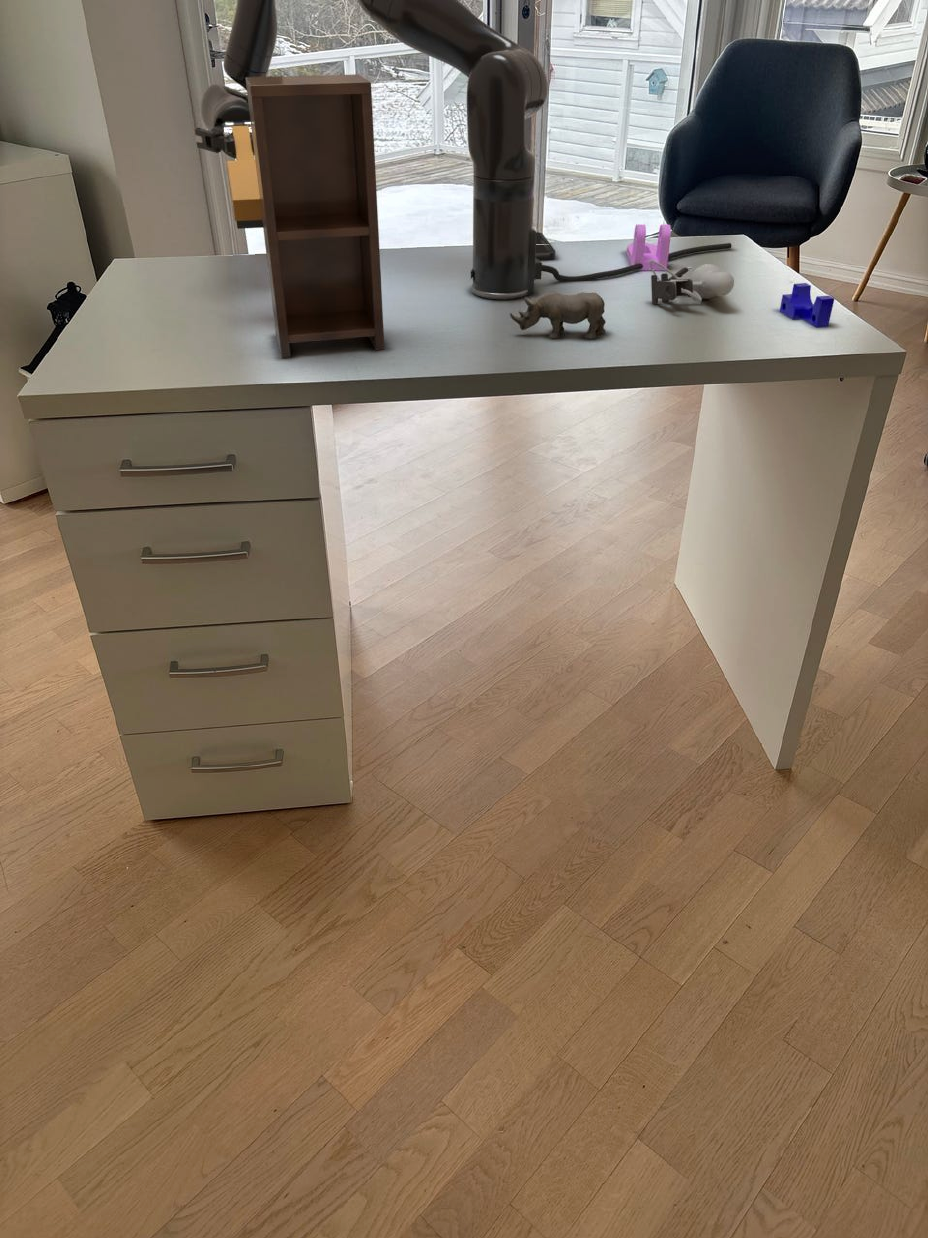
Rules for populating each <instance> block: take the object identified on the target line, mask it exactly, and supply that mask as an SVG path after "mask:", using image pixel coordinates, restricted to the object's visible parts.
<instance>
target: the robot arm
mask: <svg viewBox="0 0 928 1238" xmlns="http://www.w3.org/2000/svg"><path fill="white" fill-rule="evenodd" d="M356 1H357V3H358V4H359V6H360V7H361V9H362V10H363V12H364V13H365V14H366V15H367V16H368V17H369V18H370V19H371V20H372V21H373V22H375V23H376V24H377V25H378V26H379V27H380V28H382V29H383V30H385V31H386V32H387V33H388V34H389V35H390V36H392V37H393V38H395V39H396V40H398V41H399V42H401V43H402V44H404V45H405V46H407V47H409V48H411V49H413V50H415V51H417V52H419V53H422V54H424V55H426V56H428V57H431V58H433V59H435V60H438V61H440V62H442V63H445V64H447V65H448V66H451V67H453V68H454V69H455V70H457V71H459V72H460V73H462V74H463V75H464V76H465V77H467V84H466V126H467V130H466V131H467V146H468V147H467V148H468V153H469V156H470V159H471V162H472V168H473V169H472V170H473V171H472V173H473V175H472V179H473V180H472V181H473V183H472V269H471V270H470V280H472V284H471V292H472V293H473V294H474V295H475V296H478V297H480V298H481V297H482V298H486V299H491V300H493V299H494V300H514V299H519V298H523V297H527V296H529V295H534V294H535V280H542V275H543V272H544V273H549V274H552V275H553V278H554V280H556V281H557V282H563V283H572V282H573V283H574V282H589V281H592V280H599V279H604V278H611V277H615V276H616V277H617V276H621V275H624V274H629V273H631V272H635V271H639V270H638V269H641V268H643V265H642V264H640V263H639V264H635V265H631V264H630V265H629V266H625V267H621V268H616V269H613V270H606V271H600V272H595V273H589V274H584V275H575V276H573V275H570V276H568V275H563V274H560V273H559V271H558V269H557V268H555V267H553V266H551V265H546V264H543V262H541V260H538V259H537V258H536V257H535V256H536V232H537V231H536V229H534V228H533V224H534V223H533V222H534V202H535V201H534V200H535V176H536V158H535V155H534V153H533V152H531V151H530V150H529V149H528V147H527V145H526V135H525V134H526V133H525V132H526V131H525V130H526V129H525V128H526V125H525V123H526V122H525V120H527V119H529V118H531V117H533V116H534V115H536V114H537V113H538V112H540V110H541V109H542V108H543V106H544V105H545V103H546V100H547V99H548V98H547V97H548V93H549V92H548V91H549V82H548V78H547V77H548V76H547V74H546V71H545V69H544V67H543V65H542V63H541V61H540V60H539V59H538V58H537V56H535V55H534V54H533V53H532V52H530V51H529V50H528V49H526V48H524V46H521V45H519V44H518V43H516V42H515V41H513V40H512V39H510V38H508V37H507V36H505V35H504V34H502V33H500V32H499V31H497V30H496V29H494V28H493V27H491V26H490V25H488V24H487V23H485V22H484V21H482V19H481V18H479V17H477V16H476V15H475V14H474V13H473V12H472V11H471V10H470V9H468V7H466V5H464V4H463V3H462V2H460V1H459V0H356ZM277 14H278V13H277V7H276V0H237V1H236V7H235V12H234V16H233V21H232V24H231V25H232V26H231V30H230V33H229V37H228V41H227V45H226V50H225V52H224V53H225V54H224V58H223V69H224V72H225V74H226V75H227V76H228V77H229V78H230V79H231V80H233V81H234V82H235V83H237V84H238V85H239V86H241V87H242V89H244V90H245V91H246V92H247V86H246V77H268V73H269V69H270V66H271V62H272V58H273V55H274V52H275V49H276V44H277V38H278V15H277ZM200 115H201V116H200V117H201V119H202V122H203V124H204V125H205V126H206V128H201V127H196V128H194V136H195V142H196V147H197V148H198V149H202V150H204V151H208V152H212V153H215V154H219V153H221V152H223V153H224V154H225V155H227V156H228V157H230V158H232V159H235V160H236V148H235V140H234V136H233V133H232V126H249V131H250V140H251V146H252V152H253V155H254V156H255V154H254V145H253V137H252V129H251V120H250V112H249V103H248V95H247V93H243V92H242V91H239V90H236V89H234V88H231V87H230V86H227V85H224V84H221V83H213V84H210V85H209V86H208V87H207V88H206V89H205V91H204V92H203V95H202V97H201V100H200ZM731 248H732V243H731V242H726V243H717V244H716V243H715V244H709V245H701V246H693V247H689V248H684V249H680V250H676V251H673V252H669V254H668V260H671V259H675V258H678V257H681V256H685V255H691V254H697V253H702V252H710V251H719V250H720V251H721V250H729V249H731Z"/></svg>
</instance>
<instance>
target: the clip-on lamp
mask: <svg viewBox="0 0 928 1238" xmlns="http://www.w3.org/2000/svg"><path fill="white" fill-rule="evenodd" d="M652 263H655V264H657V265H658V266H660V267H661V268H663V269H664V270H663V271H665V272H666V273H665V272H663V273H661V274H660V278H659V277H658V275H657V273H656V270H654V269H653V267H652ZM650 266H651V269H652V270H651V271H652V275H651V276H650V283H651V288H650V289H651V303H652V304H653V305H658V304H659V300H661V302H662V303H668V302H669V301H674V300H676V299H680V298H681V299H682V298H692V299H694V300H695V301H696V302H697V303H701V302H702V301H703V299H712V298H714V297H715V296H722V297H723V296H727V295H728V294H730V293H731V292H732V290H733V288H734V286H735V279H734V276H733V275H732V274H731V273H730V272H727V271H722V269H720V268H719V267H718V266H717V265H715V264H712V263H705V264H701V265H700V266H698V267H697V268H695V270H693V272H692V273H691V276H690V278H683V276H684V275H685V274H687V273H688V272H689V270H691V269H692V266H687V267H682V268H681V269H680V270H678V271H677V272H676V273H674V272H672V271H671V270H670V269H669V268H668V267H667V268H666V267H664V266H663V265H661V264H660V263H658V262H656V261H653V260H651V261H650ZM669 275H671V276H670V277H669Z"/></svg>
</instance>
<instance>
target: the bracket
mask: <svg viewBox="0 0 928 1238" xmlns="http://www.w3.org/2000/svg"><path fill="white" fill-rule="evenodd" d="M646 236H647V226H646V224H636V225H635V227H634V233H633V242H632V243H629V244H627V246H626V256H627V257H626V258H627V259H628V261H629V263H630V266H631V265H635V264H639V263H640V264H642V265H643V268H641V269H638V270H637V271H652V269H651V266H650V261H651V260H653V261H656V262H658V263H660V264H661V265H663V266H664V267H666V268H667V269H668V262H669V259H668V254H669V253H670V246H671V237H672V227H671V225H670V224H660V226H659V228H658V236H657V244H655V243H649V242H646V238H647V237H646ZM652 267H653V269H654V271H665V270H664V269H663V268H661V267H660V266H658V265H657V264H655V263H652Z"/></svg>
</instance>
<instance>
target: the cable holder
mask: <svg viewBox="0 0 928 1238" xmlns="http://www.w3.org/2000/svg"><path fill="white" fill-rule="evenodd" d="M811 288H812V285H810V284H808V283H807V282H801V283H793V286H792V291H791V293H786V294H782V295H781V301H780V306H779V312H780V313H781V314H783V315H784V316H786V317H787V318H790V319H791V320H803V321H805V322H806V323H808V324H809V325H811V326H813V327H815V328H825V327H829V325H830V321H831V316H832V311H833V307H834V302H835V298H834V297H832V296H831V295H818V296H816V297H815V300H814V302H813V300H812V296H811V290H812V289H811Z"/></svg>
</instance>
